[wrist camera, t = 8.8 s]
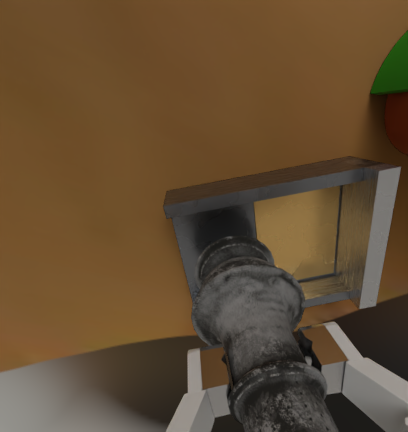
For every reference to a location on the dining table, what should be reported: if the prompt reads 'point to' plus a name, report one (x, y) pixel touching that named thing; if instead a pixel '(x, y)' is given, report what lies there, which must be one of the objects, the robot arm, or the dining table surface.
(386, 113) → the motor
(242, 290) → the grey tall turned piece
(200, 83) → the dining table surface
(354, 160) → the grey open frame
